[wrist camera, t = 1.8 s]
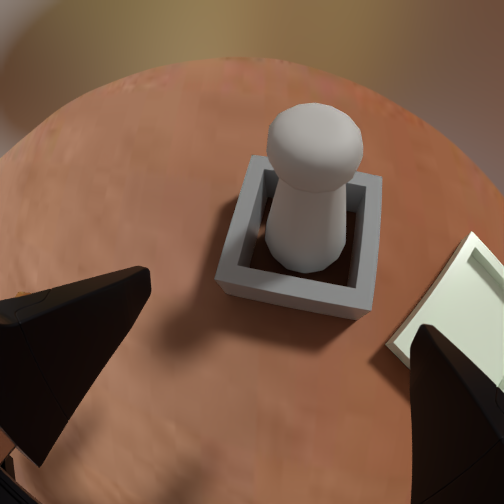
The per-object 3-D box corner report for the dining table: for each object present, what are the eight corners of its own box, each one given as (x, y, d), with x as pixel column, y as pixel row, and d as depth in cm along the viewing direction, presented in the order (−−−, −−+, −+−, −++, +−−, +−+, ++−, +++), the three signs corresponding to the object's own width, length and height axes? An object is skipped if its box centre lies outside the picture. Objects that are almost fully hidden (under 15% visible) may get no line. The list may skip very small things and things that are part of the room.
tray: (470, 433, 16) (481, 436, 14) (385, 344, 20) (393, 342, 18) (532, 324, 18) (545, 321, 16) (461, 240, 22) (471, 231, 20)
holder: (357, 320, 21) (371, 310, 17) (226, 293, 23) (214, 279, 19) (370, 203, 24) (382, 176, 20) (257, 183, 26) (252, 154, 22)
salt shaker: (295, 296, 22) (304, 210, 10) (253, 239, 24) (220, 119, 12) (355, 253, 23) (409, 141, 11) (311, 201, 25) (321, 72, 13)
